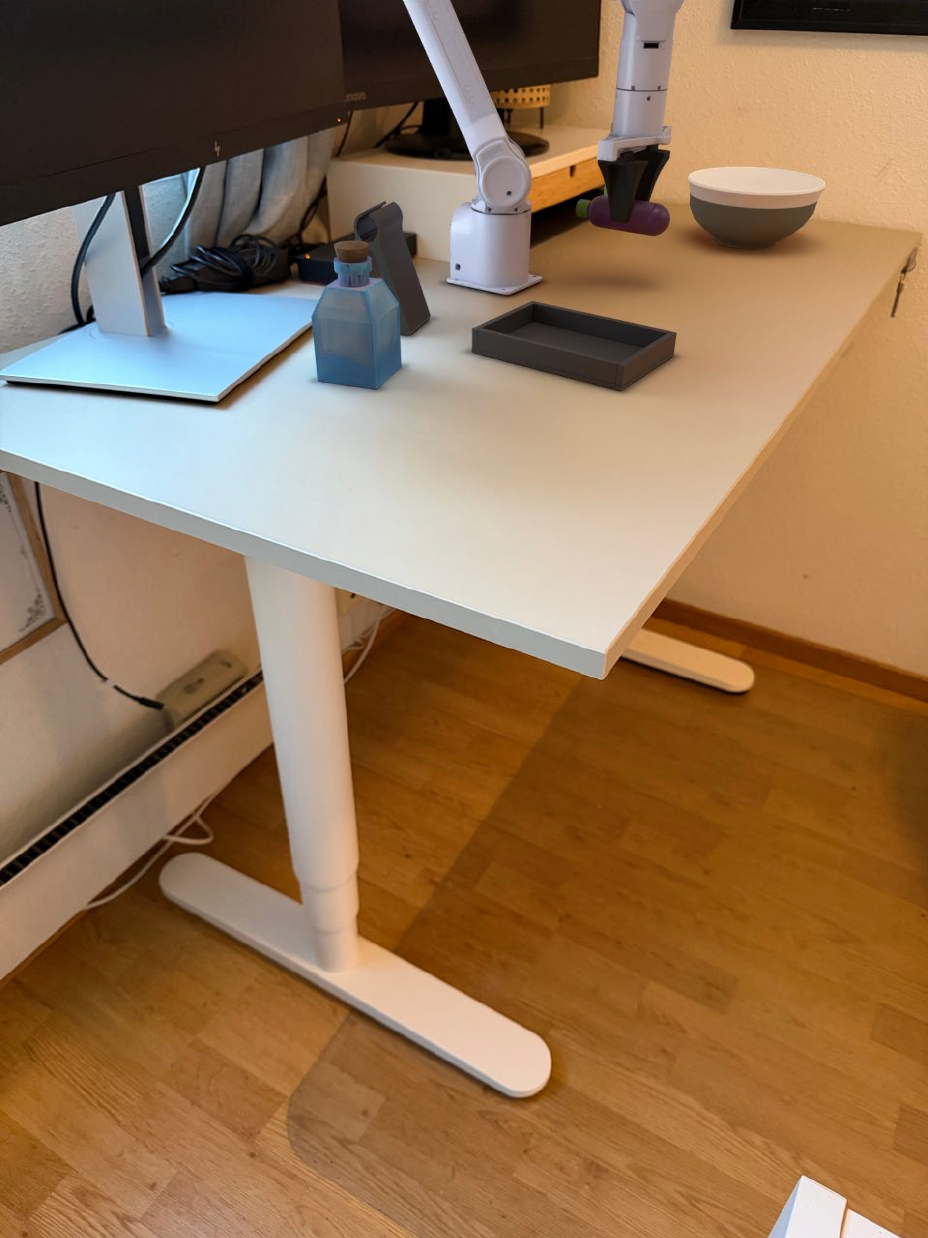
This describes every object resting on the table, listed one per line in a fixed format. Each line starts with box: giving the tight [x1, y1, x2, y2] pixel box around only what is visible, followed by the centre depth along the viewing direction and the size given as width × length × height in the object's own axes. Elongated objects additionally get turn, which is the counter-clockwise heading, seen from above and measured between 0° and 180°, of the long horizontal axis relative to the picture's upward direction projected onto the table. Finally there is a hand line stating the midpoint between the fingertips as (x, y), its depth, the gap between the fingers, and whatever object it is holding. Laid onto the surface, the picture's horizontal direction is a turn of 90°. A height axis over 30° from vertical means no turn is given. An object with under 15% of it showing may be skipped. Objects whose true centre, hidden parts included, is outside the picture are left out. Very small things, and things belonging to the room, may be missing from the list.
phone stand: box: [353, 200, 432, 336], centre depth 96 cm, size 9×6×12 cm, turn 70°
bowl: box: [687, 166, 827, 250], centre depth 127 cm, size 19×19×8 cm
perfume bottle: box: [311, 240, 403, 390], centre depth 84 cm, size 6×6×12 cm
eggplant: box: [575, 194, 671, 237], centre depth 108 cm, size 12×4×4 cm, turn 54°
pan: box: [471, 300, 678, 392], centre depth 91 cm, size 17×11×2 cm, turn 54°
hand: (627, 218), depth 108 cm, fingers closed on eggplant, 3 cm apart
